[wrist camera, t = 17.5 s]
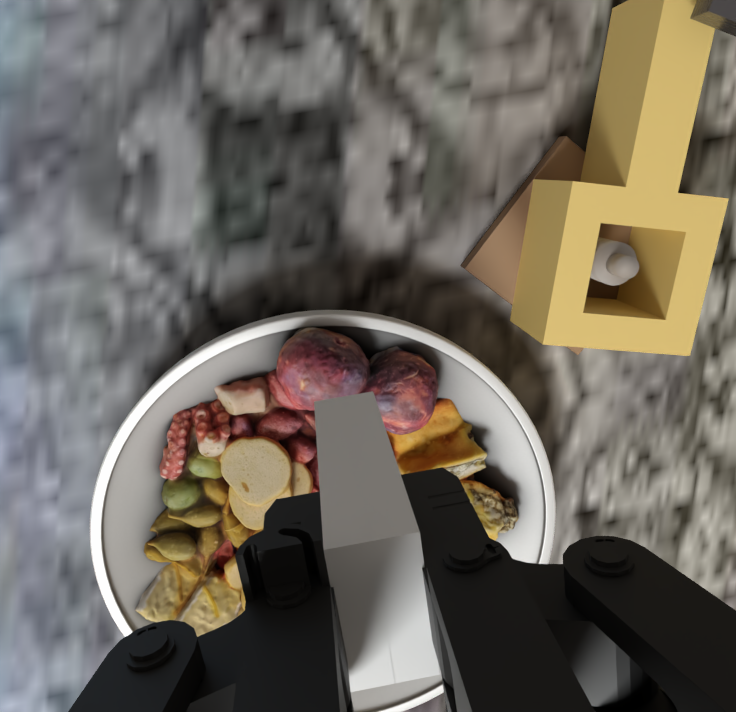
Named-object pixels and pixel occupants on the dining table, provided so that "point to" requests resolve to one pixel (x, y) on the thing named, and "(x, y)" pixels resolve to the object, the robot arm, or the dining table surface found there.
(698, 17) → the keeper
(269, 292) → the dining table surface
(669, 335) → the link
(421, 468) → the bowl
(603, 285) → the pintle stand
